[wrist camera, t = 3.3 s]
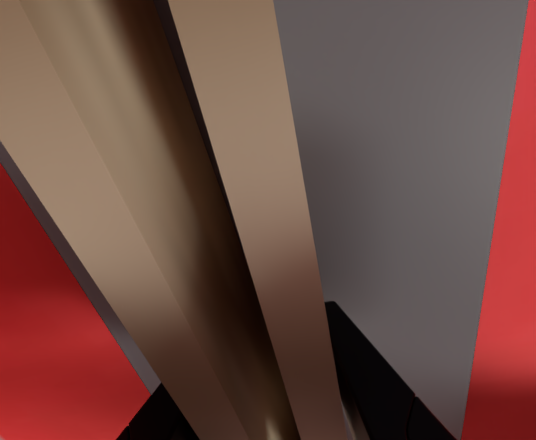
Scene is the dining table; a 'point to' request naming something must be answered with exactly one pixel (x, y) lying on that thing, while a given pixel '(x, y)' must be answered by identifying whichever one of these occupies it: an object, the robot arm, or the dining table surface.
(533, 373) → the dining table surface
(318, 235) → the serving board
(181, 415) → the robot arm
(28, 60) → the tongs arm
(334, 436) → the arm
